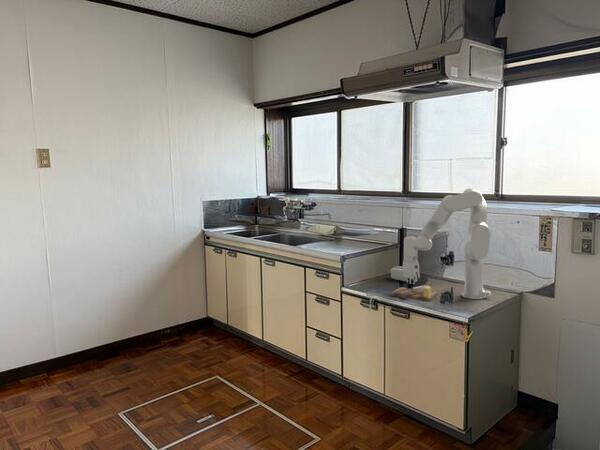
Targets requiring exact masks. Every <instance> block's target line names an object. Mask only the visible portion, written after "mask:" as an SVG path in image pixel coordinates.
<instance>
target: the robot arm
mask: <svg viewBox="0 0 600 450" xmlns="http://www.w3.org/2000/svg"><path fill="white" fill-rule="evenodd" d="M467 209H470V215H469V224H468V228H467V229H468V230H467V231H468V234H469V235H470V240H468V241H467V242H466V243H465V245H464V249H463V250H464V291H463V292H461V296H462V297H463V298H465V299H470V300H471V299H472V300H481V299H482V300H483V299H485V298H487V297H486V296H489V297H490V296H492V292H491V291H489V290H486V289H485V287H484V260H485V259H486V257H487V256H488V254H489V250H490V249H489V248H490V242H491V229H490V227H489V226H488V224H487V219H488V204H487V202H486V200H485V198H484V196H483V194H482V192H481V191H480V190H477V189H475V188H466V189H465V190H464V191H463V192H462V193H460V194H456V195H451V194H448V195H445V196H444V197H443V198H442V199H441V201H440V203H439V204H438V206H437V208H436V209H435V211H434V212H433V214H432V215H431V217H430V218H429V219H428V221H427V222H426V223H425V225H424V226H423V228H422V229H421V231H420V233H419V234H418V236H417V237H416V236H413V235H411V236H405V237H404V238H403V262H402V267H403V276H404V278H405V279H406V280H407V282H406V284H407V287H406V288H407V290H408V288H413V287H415V283H416V282H418V279H420V277H421V274H420V263H419V261H418V257H419V256H418V254H419V253H418V251H429V250H431V249H432V247H433V241H432V240H433V238H434V237H435V236H436V234H437V232H438V231H439V230H441V229H442V228H444V227H445V226H446V224H447V223H448V221H449V220H450V218H451V216H452V215H453V213H455V212H459V211H463V210H467Z"/></svg>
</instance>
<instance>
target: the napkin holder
mask: <svg viewBox="0 0 600 450" xmlns="http://www.w3.org/2000/svg"><path fill="white" fill-rule="evenodd" d="M390 278H391V279H393V280H397V281H398V280H399V281H403V282H406V283H407V280H406V279H405V278H404V276H403V266H394V267H392V268H391V269H390Z"/></svg>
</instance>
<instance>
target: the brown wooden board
mask: <svg viewBox="0 0 600 450" xmlns="http://www.w3.org/2000/svg"><path fill="white" fill-rule="evenodd" d="M439 295H440V294H439V291H438V292H437V291H433V290H431V296H430V297H429V298H428V297H423V292H422V293H417V294H412V295H410V294H408V290H407V287H401V286H400V287H398V288H396V289H395V290H393V291H392V292H390V296H392V297H399V298H406V299H413V300H419V301H427V302H432V300H435V298H437V297H438V296H439Z"/></svg>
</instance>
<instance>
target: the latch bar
mask: <svg viewBox="0 0 600 450" xmlns="http://www.w3.org/2000/svg"><path fill="white" fill-rule="evenodd" d="M425 286H428V287H430V285H428V284H423V285H418V286H414V287H413V288H408V294H410V295H412V294H417V293H422V292H423V288H424V287H425Z"/></svg>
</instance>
